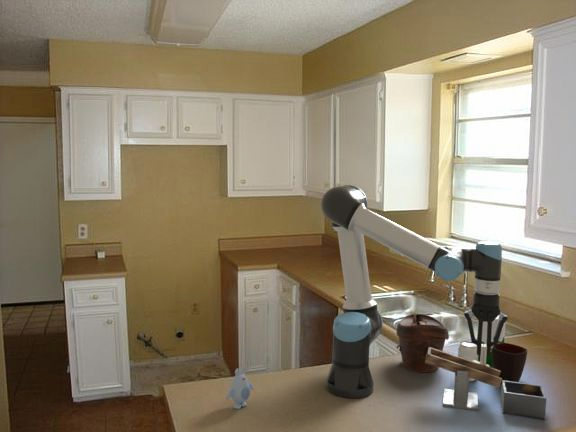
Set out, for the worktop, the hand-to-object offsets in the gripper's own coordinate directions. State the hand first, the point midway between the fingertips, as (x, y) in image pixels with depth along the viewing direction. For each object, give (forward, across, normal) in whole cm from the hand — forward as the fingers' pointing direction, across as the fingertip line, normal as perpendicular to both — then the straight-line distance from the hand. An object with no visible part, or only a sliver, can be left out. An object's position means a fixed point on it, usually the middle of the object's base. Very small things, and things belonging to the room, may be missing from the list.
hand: (482, 365), depth 171 cm
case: (+10, -20, +18) cm, 29 cm away
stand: (+10, -6, -7) cm, 13 cm away
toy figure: (+9, -68, -34) cm, 77 cm away
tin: (+10, +11, -7) cm, 16 cm away
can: (+10, -4, +12) cm, 16 cm away
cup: (+10, +10, +14) cm, 20 cm away
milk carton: (+10, +4, +30) cm, 32 cm away
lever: (0, -6, -3) cm, 7 cm away
